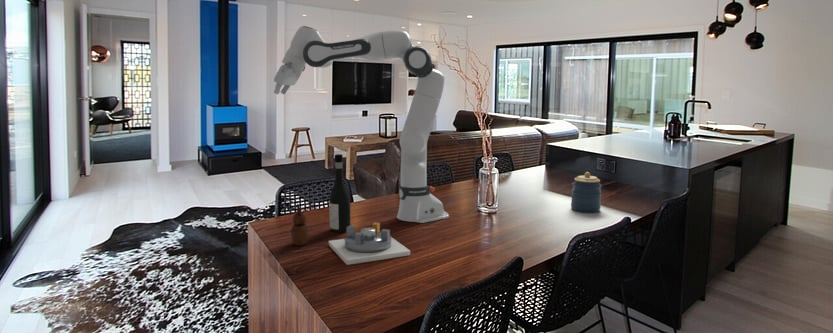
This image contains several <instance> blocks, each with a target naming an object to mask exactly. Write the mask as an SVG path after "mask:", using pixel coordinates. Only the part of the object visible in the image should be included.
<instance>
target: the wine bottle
mask: <svg viewBox="0 0 833 333" xmlns="http://www.w3.org/2000/svg"><path fill="white" fill-rule="evenodd" d="M343 157H344V156H343V154H341V153H339V154H338V153H337V154H334V166H335V168H334V170H335V171H334V172H335V179H334V183H333V187H332V189H331V191H330V194H329V200H328V206H329V207H328V209H329V210H328V211H329V212H328V214H329V230H330V231H332V232H333V233H347V226H349V225H350V226H351V200H350V195H349V193H348V192H349V191H348V189H347V187H346V185H345V182H344V177H343V159H344V158H343Z"/></svg>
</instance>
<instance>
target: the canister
mask: <svg viewBox="0 0 833 333" xmlns="http://www.w3.org/2000/svg"><path fill="white" fill-rule="evenodd" d="M600 182H601V179H599V178H598V177H597V176H594V175H591V173H590V172H589V171H586V172H584V175H578V176H576V177H574V182H572V183H571V185H572V190H571V203H570V208H571V210H572V211H575V212H579V213H587V214H590V213H592V214H595V213H598V212H600V211H601V208H602V207H601V205H602V204H601V199H602V191H601V188H602V186H603V185H602V184H601V183H600Z"/></svg>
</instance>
